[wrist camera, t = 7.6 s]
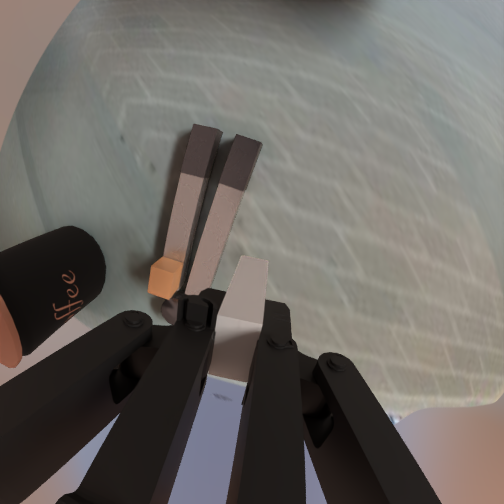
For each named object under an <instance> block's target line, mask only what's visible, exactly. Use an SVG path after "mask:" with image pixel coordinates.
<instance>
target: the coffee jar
mask: <svg viewBox="0 0 504 504" xmlns="http://www.w3.org/2000/svg"><path fill="white" fill-rule="evenodd" d="M105 274H106V265H105V260H104V256H103V253H102V251H101V249H100V246H99V245H98V244H97V242H96V241H95V240H94V238H93V237H92V236H91V235H89V234H88V233H87V232H86V231H84V230H83V229H80V228H77V227H74V226H66V227H61V228H59V229H56V230H53V231H51V232H48V233H45V234H43V235H40V236H38V237H35V238H33V239H30V240H28V241H25V242H23V243H20V244H18V245H16V246H13V247H11V248H9V249H6V250H4V251H2V252H0V363H1V364H3V365H5V366H7V367H8V368H15V367H16V366H17V365H18V364H19V363H20V361H21V359H22V356H26V355H29V354H31V353H32V352H33V351H34V350H35V349H36V348H37V347H38V346H39V345H41V344H42V343H43V342H44V341H45V340H46V339H47V338H49V337H50V336H51V335H52V334H53V333H54V332H55V331H56V330H58V329H59V328H60V327H61V326H62V325H63V324H65V323H66V322H67V321H68V320H69V319H71V318H72V317H73V316H74V315H75V314H77V313H78V312H79V311H80V310H81V309H83V308H84V307H85V306H86V305H87V304H89V303H90V302H91V301H92V300H94V299H95V298H96V297H97V296H98V295H99V294H100V293H101V291H102V288H103V285H104V283H105Z"/></svg>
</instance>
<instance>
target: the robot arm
mask: <svg viewBox="0 0 504 504" xmlns="http://www.w3.org/2000/svg"><path fill="white" fill-rule="evenodd" d="M268 262H269V261H267V260H263V259H258V258H253V257H249V256H244V255H241V258H240V260H239V262H238V265H237V267H236V270H235V272H234V275H233V277H232V280H231V282H230V285H229V287H228V290H227V292H225V291H220V290H216V289H212V288H206V289H204V290H203V291H201V292H200V294H199V295H186V296H182V297H181V298H180V299H178V308H177V320H176V322H175V324H174V325H170V326H161V325H152V319H151V317H150V316H149V315H147V314H146V313H143V312H140V311H135V310H130V311H124V312H122V313H119V314H117V315H116V316H114V317H112V318H111V319H109V320H107V321H106V322H104V323H102V324H101V325H99V326H97V327H96V328H94V329H92V330H91V331H89V332H87V333H86V334H84V335H82V336H81V337H79V338H78V339H76V340H74V341H73V342H71V343H69V344H68V345H66V346H64V347H63V348H61V349H59V350H58V351H56V352H54V353H53V354H51V355H50V356H48V357H46V358H45V359H43V360H41V361H40V362H38V363H37V364H35V365H34V366H32V367H30V368H29V369H27V370H25V371H24V372H22V373H21V374H19V375H17V376H16V377H14V378H12V379H11V380H9V381H8V382H6V383H5V384H3V385H1V386H0V504H20V503H21V502H22V501H23V500H25V499H26V498H27V497H28V496H30V495H31V494H32V493H33V492H34V491H35V490H37V489H38V488H39V487H40V486H41V485H42V484H43V483H44V482H46V481H47V480H48V479H49V478H50V477H51V476H52V475H54V473H56V472H57V471H58V470H59V469H60V468H61V467H62V466H63V465H65V464H66V463H67V462H68V461H69V460H70V459H71V458H72V457H73V456H75V455H76V454H77V453H78V452H79V451H80V450H81V449H82V448H83V447H84V446H85V445H86V444H88V442H90V441H91V440H92V439H93V438H94V437H95V436H96V435H97V434H98V433H99V432H100V431H101V430H103V429H104V428H105V427H106V426H107V425H108V424H109V423H110V422H111V421H112V420H113V419H114V418H115V417H116V416H117V415H118V414H119V413H120V415H119V416H118V418H117V420H116V421H115V423H114V425H113V427H112V428H111V430H110V432H109V434H108V435H107V437H106V439H105V441H104V443H103V444H102V446H101V448H100V450H99V451H98V453H97V455H96V457H95V459H94V460H93V462H92V464H91V466H90V468H89V469H88V471H87V473H86V475H85V477H84V479H83V480H82V482H81V484H80V486H79V487H78V489H77V490H76V491H75V492H73V493H69V494H65V495H63V496H62V497H61V498H59V499H58V501H57V502H56V504H168V501H169V497H170V495H171V491H172V488H173V485H174V482H175V479H176V476H177V472H178V469H179V466H180V463H181V460H182V457H183V453H184V450H185V447H186V444H187V441H188V438H189V435H190V431H191V428H192V425H193V422H194V419H195V416H196V413H197V410H198V406H199V403H200V400H201V397H202V394H203V391H204V388H205V385H206V380H207V373H208V370H209V373H208V374H211V375H215V376H219V377H224V378H228V379H233V380H238V381H242V382H248V383H247V386H246V390H245V394H244V397H243V401H242V405H243V407H242V413H241V419H240V425H239V432H238V438H237V443H236V449H235V455H234V461H233V467H232V472H231V479H230V485H229V490H228V495H227V501H226V504H306V487H305V486H306V483H305V456H304V441H305V444H306V446H307V449H308V452H309V455H310V457H311V460H312V463H313V466H314V468H315V471H316V474H317V477H318V480H319V482H320V485H321V488H322V491H323V493H324V496H325V499H326V501H327V504H442V503H441V502H440V500H439V498H438V497H437V495H436V493H435V492H434V490H433V488H432V487H431V485H430V483H429V482H428V480H427V478H426V477H425V475H424V473H423V472H422V470H421V468H420V467H419V465H418V464H417V462H416V460H415V459H414V457H413V455H412V454H411V452H410V451H409V449H408V448H407V446H406V444H405V443H404V441H403V439H402V438H401V436H400V435H399V433H398V432H397V430H396V428H395V427H394V425H393V424H392V422H391V421H390V419H389V417H388V416H387V414H386V413H385V411H384V410H383V408H382V407H381V405H380V403H379V402H378V400H377V399H376V397H375V396H374V394H373V393H372V391H371V390H370V388H369V387H368V385H367V383H366V382H365V380H364V379H363V377H362V376H361V374H360V373H359V371H358V370H357V368H356V367H355V365H354V364H353V363H352V362H351V360H350V359H348V358H347V357H345V356H343V355H341V354H338V353H332V352H328V353H323V354H322V355H320V356H319V358H318V360H317V359H314V358H311V357H308V356H306V355H304V354H302V353H301V352H299V351H298V348H297V344H296V342H295V341H294V340H293V339H292V333H291V322H290V321H291V319H290V309H289V308H288V307H287V305H286V304H285V303H281V302H276V301H271V300H266V299H265V295H266V284H267V273H268Z"/></svg>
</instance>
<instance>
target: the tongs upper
mask: <svg viewBox="0 0 504 504" xmlns="http://www.w3.org/2000/svg"><path fill="white" fill-rule="evenodd" d="M262 146H263V144H262V142H259V141H256V140H253V139H250V138H247V137H244V136H241V135H238V134H236V136H235V139H234V142H233V144H232V147H231V150H230V152H229V155H228V158H227V161H226V163H225V166H224V169H223V172H222V175H221V178H220V180H219V185H218V188H217V191H216V194H215V197H214V200H213V203H212V206H211V209H210V212H209V215H208V218H207V221H206V224H205V228H204V231H203V234H202V237H201V240H200V243H199V247H198V250H197V253H196V256H195V260H194V263H193V266H192V270H191V273H190V277H189V280H188V284H187V287H186V291H185V294H187V295H199V294H200V292H201V291H203V290H204V289H206V288H211V287H212V284H213V281H214V278H215V275H216V272H217V269H218V266H219V264H220V261H221V258H222V255H223V252H224V249H225V246H226V243H227V240H228V237H229V235H230V232H231V229H232V226H233V223H234V220H235V218H236V215H237V212H238V209H239V206H240V204H241V201H242V198H243V195H244V193H245V190H246V189H247V186H248V183H249V180H250V178H251V175H252V172H253V170H254V167H255V164H256V162H257V159H258V156H259V154H260V151H261V148H262Z"/></svg>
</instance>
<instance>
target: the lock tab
mask: <svg viewBox="0 0 504 504" xmlns="http://www.w3.org/2000/svg"><path fill="white" fill-rule="evenodd" d="M182 268H183V263H181V262H178V261H175V260H172V259H169V258H166V257H161V258H160V259H159V260H158V261H157V262H155V263H154V264H153V265H152V266H151V271H150V278H149V286H148V293H151V294H154V295H156V296H159V297H162V298H165V299H167V300H169V299H170V298H171V297H172V296H173V294H174V293H175V292H176V290H177V289H178V288H179V283H180V278H181V273H182Z"/></svg>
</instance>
